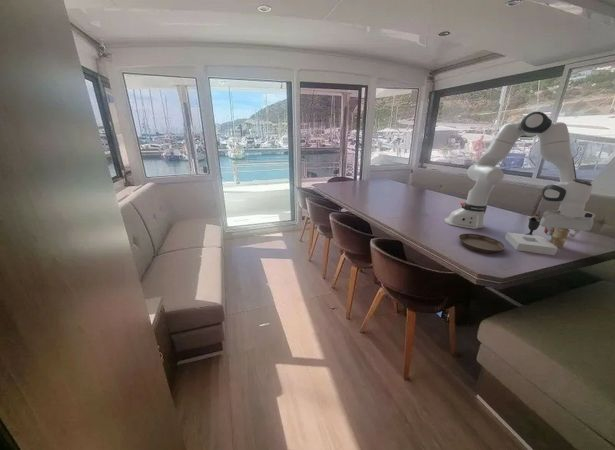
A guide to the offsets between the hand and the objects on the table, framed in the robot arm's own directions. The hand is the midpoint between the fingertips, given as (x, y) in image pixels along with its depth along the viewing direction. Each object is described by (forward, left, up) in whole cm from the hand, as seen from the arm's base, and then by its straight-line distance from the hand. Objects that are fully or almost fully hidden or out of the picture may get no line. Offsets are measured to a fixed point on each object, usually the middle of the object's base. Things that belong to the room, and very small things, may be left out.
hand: (560, 235), depth 132 cm
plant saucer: (-40, -16, -6) cm, 44 cm away
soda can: (+7, +21, -6) cm, 22 cm away
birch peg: (0, 0, -6) cm, 6 cm away
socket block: (-15, -7, -6) cm, 18 cm away
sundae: (-7, +12, -6) cm, 15 cm away
